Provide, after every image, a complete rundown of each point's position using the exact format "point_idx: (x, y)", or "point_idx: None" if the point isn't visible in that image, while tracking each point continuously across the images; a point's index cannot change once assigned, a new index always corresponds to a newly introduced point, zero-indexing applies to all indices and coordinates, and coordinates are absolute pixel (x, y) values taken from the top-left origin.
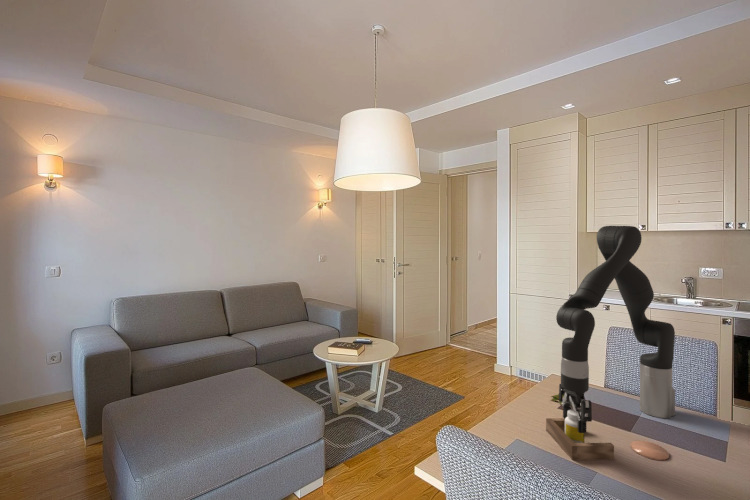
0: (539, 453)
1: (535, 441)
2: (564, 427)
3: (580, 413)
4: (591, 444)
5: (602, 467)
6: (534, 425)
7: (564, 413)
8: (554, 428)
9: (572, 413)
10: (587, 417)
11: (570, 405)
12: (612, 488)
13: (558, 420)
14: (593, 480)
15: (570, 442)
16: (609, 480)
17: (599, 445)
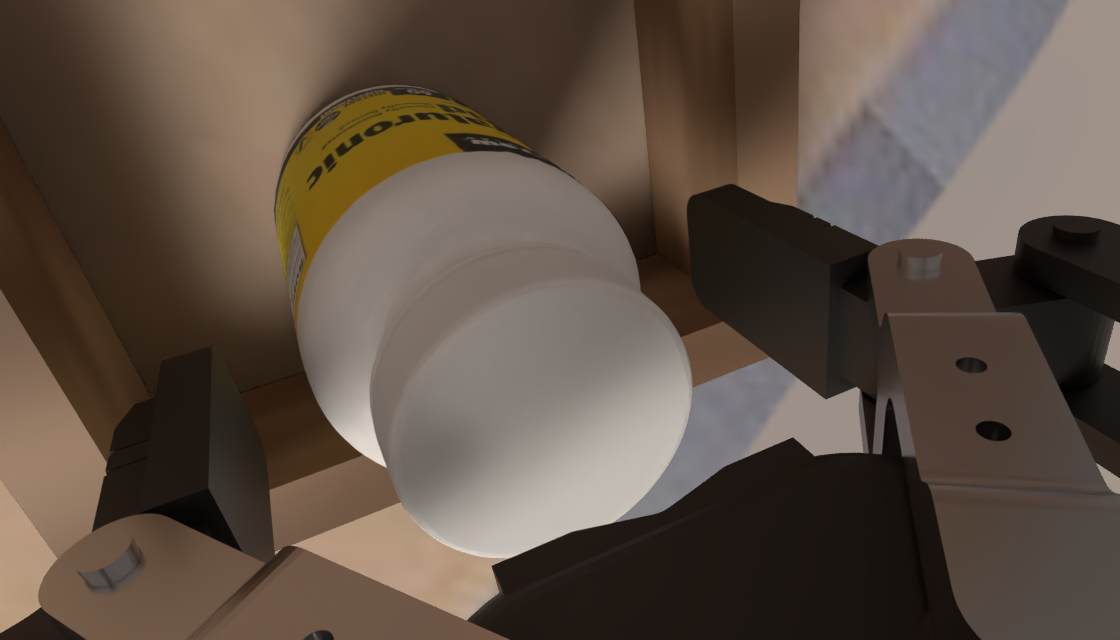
0: (636, 516)
1: (444, 561)
2: (69, 310)
3: (569, 311)
4: (769, 115)
5: (811, 22)
6: (23, 614)
7: (265, 513)
8: (386, 495)
9: (599, 473)
10: (1112, 319)
11: (188, 537)
12: (1036, 55)
13: (100, 461)
14: (947, 173)
15: (734, 353)
16: (964, 37)
17: (794, 9)
